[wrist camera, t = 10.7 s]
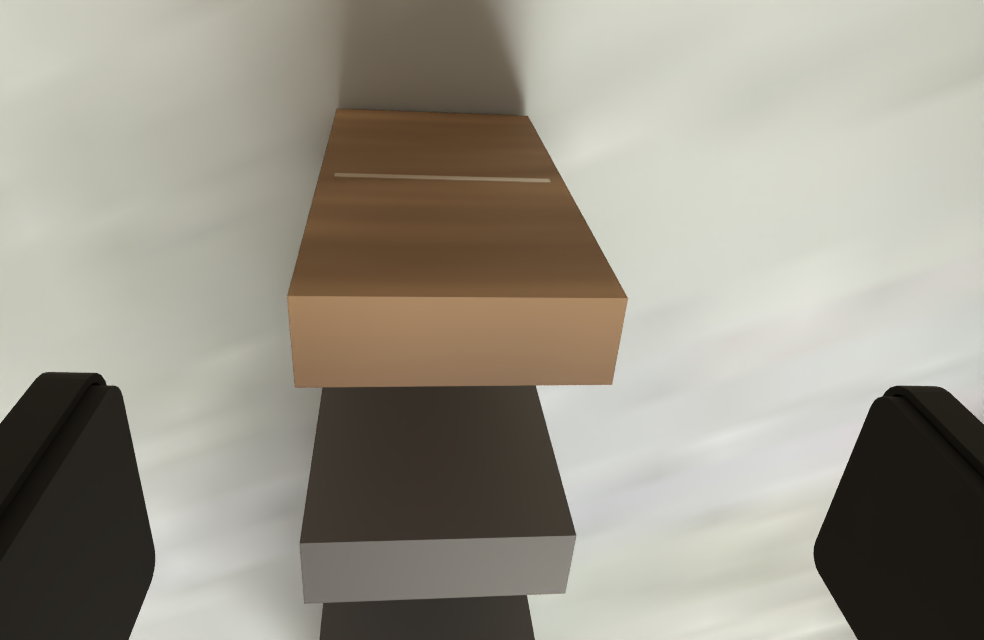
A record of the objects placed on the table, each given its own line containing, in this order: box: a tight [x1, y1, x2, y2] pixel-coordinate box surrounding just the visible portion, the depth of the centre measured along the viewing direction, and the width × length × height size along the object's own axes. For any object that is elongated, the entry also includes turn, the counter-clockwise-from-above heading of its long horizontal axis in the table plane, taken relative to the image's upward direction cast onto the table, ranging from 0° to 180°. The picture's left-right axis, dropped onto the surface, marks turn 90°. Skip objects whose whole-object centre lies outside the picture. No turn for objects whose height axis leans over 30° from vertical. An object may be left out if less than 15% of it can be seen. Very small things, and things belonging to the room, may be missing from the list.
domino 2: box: [300, 385, 576, 604], centre depth 18 cm, size 2×5×10 cm, turn 85°
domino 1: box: [287, 109, 628, 388], centre depth 15 cm, size 2×5×10 cm, turn 86°
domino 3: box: [320, 595, 535, 640], centre depth 20 cm, size 2×5×10 cm, turn 85°
